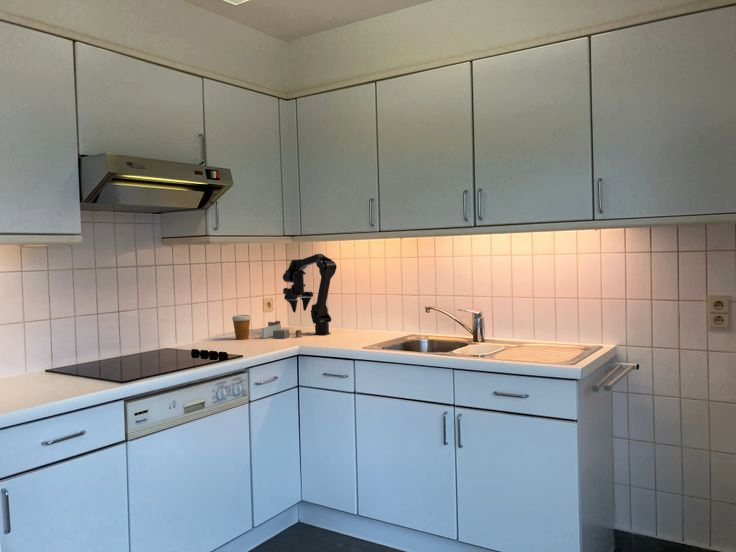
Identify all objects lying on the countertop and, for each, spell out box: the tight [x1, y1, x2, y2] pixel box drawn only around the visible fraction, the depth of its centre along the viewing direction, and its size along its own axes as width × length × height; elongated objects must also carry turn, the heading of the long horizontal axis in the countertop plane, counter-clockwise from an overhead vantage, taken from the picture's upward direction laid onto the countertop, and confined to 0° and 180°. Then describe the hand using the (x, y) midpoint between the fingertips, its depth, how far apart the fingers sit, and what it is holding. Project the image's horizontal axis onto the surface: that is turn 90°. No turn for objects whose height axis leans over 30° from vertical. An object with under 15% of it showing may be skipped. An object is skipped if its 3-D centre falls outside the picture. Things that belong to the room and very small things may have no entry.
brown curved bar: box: [267, 320, 303, 338], centre depth 335 cm, size 27×2×7 cm, turn 43°
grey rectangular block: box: [272, 329, 290, 340], centre depth 325 cm, size 7×4×4 cm, turn 61°
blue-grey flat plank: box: [261, 323, 282, 339], centre depth 331 cm, size 16×1×6 cm, turn 153°
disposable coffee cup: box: [231, 314, 251, 341], centre depth 326 cm, size 10×10×12 cm
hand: (299, 311), depth 345 cm, fingers open, 9 cm apart
